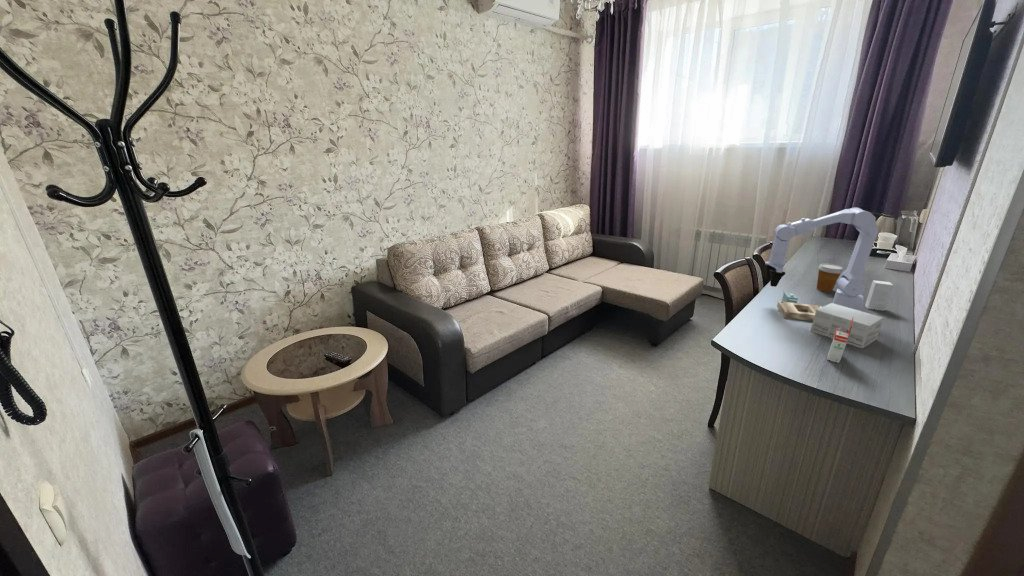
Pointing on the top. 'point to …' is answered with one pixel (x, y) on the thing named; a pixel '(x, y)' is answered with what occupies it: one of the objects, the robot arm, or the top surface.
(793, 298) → the servo block
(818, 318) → the supplement box
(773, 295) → the top surface
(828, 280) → the orange jar with lid
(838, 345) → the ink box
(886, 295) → the skincare box
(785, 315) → the plate
